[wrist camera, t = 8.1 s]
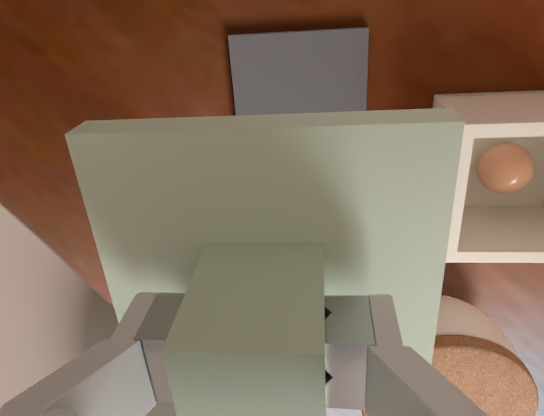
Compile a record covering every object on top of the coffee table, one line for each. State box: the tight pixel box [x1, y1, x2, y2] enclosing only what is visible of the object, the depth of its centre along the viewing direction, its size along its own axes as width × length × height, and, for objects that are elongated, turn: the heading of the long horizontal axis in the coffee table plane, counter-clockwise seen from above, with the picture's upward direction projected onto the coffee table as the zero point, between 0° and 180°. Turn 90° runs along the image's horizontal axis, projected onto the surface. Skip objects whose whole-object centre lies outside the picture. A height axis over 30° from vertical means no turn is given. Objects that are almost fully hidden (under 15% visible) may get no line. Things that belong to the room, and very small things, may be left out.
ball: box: [477, 143, 534, 194], centre depth 27 cm, size 3×3×3 cm
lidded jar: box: [362, 295, 538, 416], centre depth 31 cm, size 11×11×9 cm
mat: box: [228, 27, 369, 116], centre depth 28 cm, size 8×8×1 cm
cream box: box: [432, 90, 544, 263], centre depth 26 cm, size 8×8×6 cm
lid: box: [65, 108, 465, 416], centre depth 10 cm, size 8×8×4 cm
